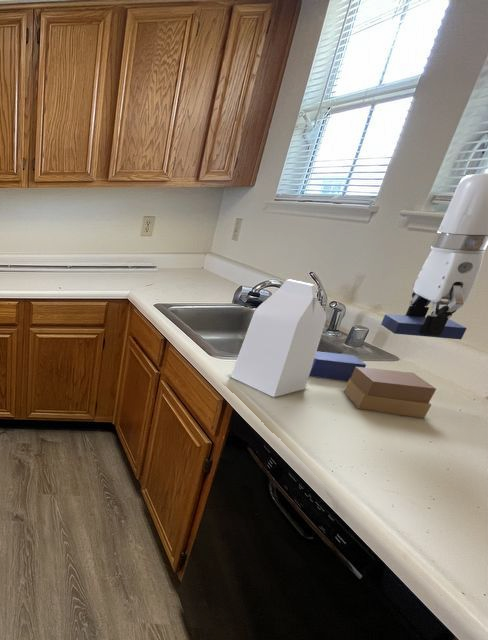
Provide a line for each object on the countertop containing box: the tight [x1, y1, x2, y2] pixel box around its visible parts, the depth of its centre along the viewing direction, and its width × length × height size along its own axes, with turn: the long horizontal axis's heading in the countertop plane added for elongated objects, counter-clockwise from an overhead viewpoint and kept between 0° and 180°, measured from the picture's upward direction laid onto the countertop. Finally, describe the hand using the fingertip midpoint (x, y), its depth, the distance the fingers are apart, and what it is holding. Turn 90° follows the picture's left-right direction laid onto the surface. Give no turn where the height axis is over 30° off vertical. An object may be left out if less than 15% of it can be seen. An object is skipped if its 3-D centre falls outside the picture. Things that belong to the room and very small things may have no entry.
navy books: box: [309, 350, 367, 382], centre depth 111 cm, size 11×7×5 cm, turn 69°
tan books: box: [343, 367, 437, 419], centre depth 96 cm, size 12×9×7 cm
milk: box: [230, 279, 327, 398], centre depth 102 cm, size 12×12×26 cm
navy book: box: [380, 313, 468, 340], centre depth 89 cm, size 11×6×2 cm, turn 69°
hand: (420, 328), depth 89 cm, fingers closed on navy book, 6 cm apart
